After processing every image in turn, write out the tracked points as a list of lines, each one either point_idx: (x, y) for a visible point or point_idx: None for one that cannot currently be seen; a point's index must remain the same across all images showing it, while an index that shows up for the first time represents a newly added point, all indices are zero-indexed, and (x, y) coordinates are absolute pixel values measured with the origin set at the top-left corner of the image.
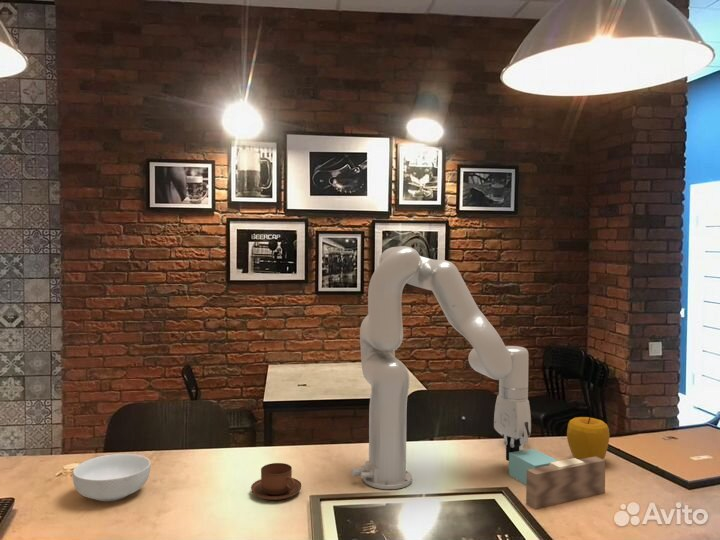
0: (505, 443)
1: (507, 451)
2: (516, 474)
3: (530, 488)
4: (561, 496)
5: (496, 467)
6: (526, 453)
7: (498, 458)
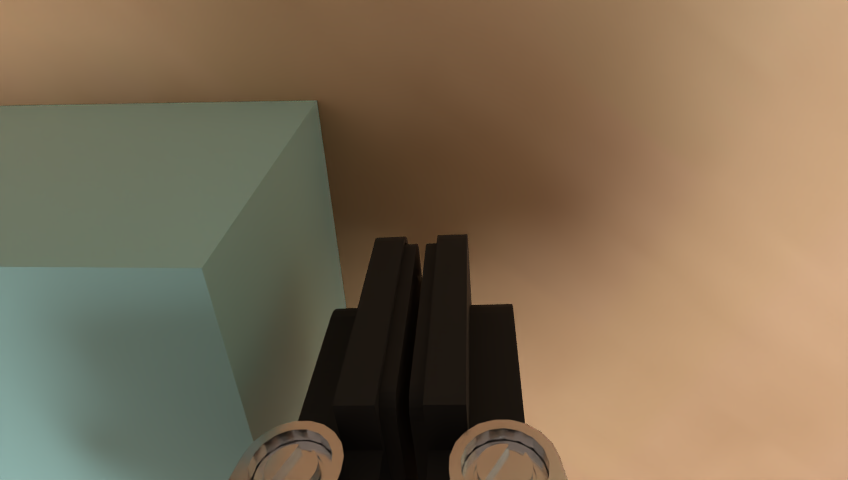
0: (532, 450)
1: (430, 327)
2: (140, 125)
3: None
4: None
5: (594, 106)
6: (123, 471)
7: (808, 299)
